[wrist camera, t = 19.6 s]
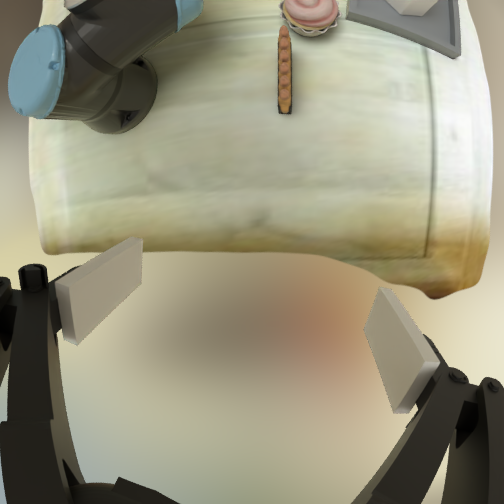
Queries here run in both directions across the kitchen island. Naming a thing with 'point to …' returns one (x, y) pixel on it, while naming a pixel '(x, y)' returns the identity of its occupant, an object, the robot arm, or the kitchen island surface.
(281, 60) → the ammunition clip
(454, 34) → the tray
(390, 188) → the kitchen island surface
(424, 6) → the jar
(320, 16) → the cupcake
